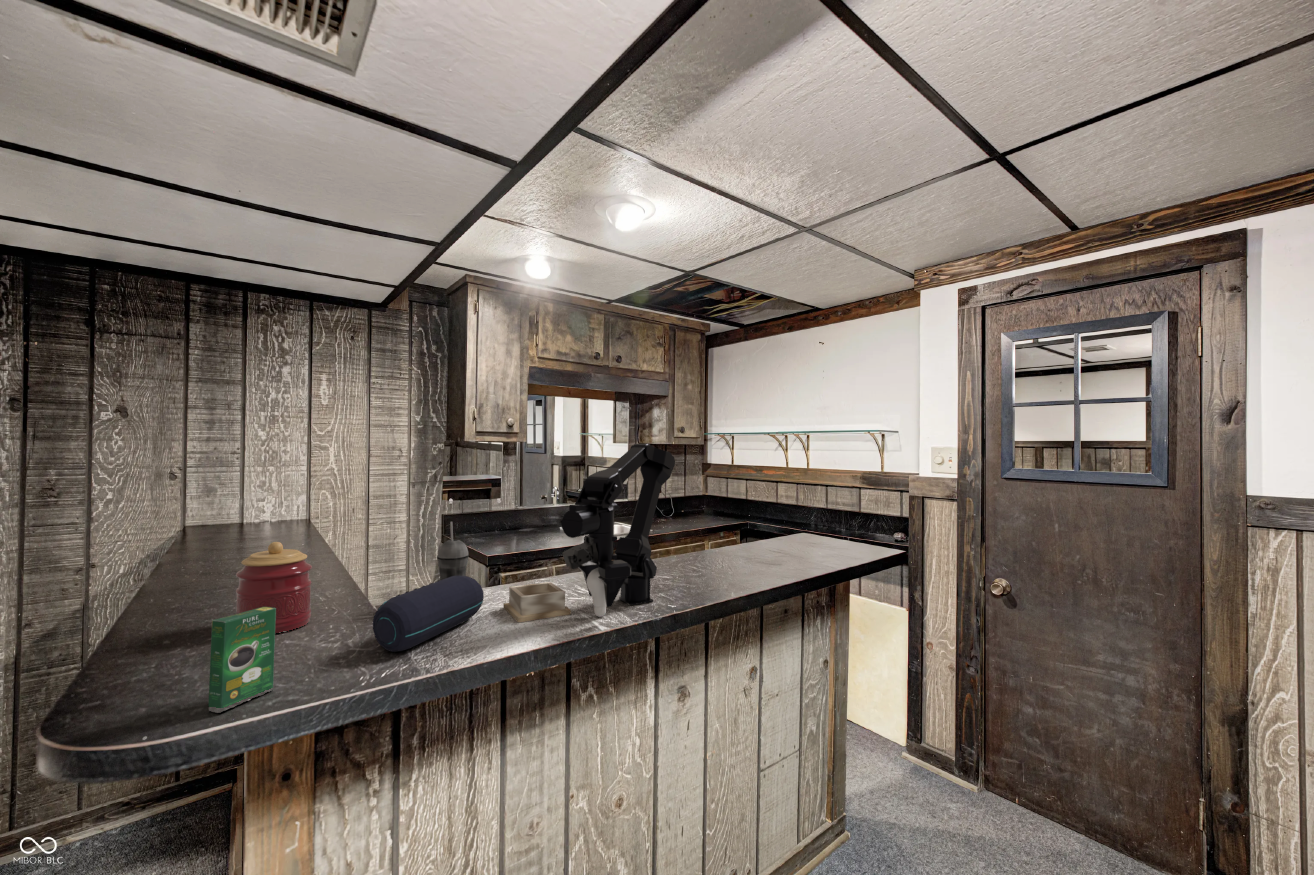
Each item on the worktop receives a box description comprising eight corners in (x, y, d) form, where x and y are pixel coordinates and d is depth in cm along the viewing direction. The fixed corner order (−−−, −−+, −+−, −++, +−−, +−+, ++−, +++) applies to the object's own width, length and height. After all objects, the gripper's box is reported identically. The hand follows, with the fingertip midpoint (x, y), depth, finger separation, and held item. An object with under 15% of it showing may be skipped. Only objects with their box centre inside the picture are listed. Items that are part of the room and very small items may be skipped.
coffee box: (262, 688, 86) (263, 604, 86) (275, 690, 85) (277, 606, 85) (206, 712, 78) (208, 620, 78) (221, 715, 77) (223, 622, 77)
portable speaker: (450, 613, 124) (451, 569, 124) (488, 618, 121) (489, 573, 121) (360, 654, 99) (361, 599, 100) (405, 661, 97) (406, 605, 97)
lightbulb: (619, 615, 123) (619, 566, 123) (602, 623, 118) (603, 572, 118) (597, 611, 126) (597, 563, 126) (580, 618, 121) (581, 568, 121)
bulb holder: (552, 600, 134) (552, 580, 134) (570, 614, 124) (570, 592, 124) (503, 607, 128) (503, 586, 128) (518, 622, 118) (518, 599, 118)
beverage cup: (473, 601, 133) (474, 519, 133) (460, 610, 126) (461, 523, 126) (445, 600, 134) (446, 518, 134) (430, 609, 126) (431, 522, 127)
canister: (324, 622, 117) (326, 539, 117) (259, 642, 105) (260, 550, 105) (287, 613, 122) (288, 534, 122) (220, 631, 110) (222, 544, 111)
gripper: (552, 528, 126) (551, 595, 126) (584, 541, 110) (583, 618, 110) (596, 524, 132) (595, 589, 132) (632, 536, 116) (632, 610, 116)
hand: (600, 601), depth 122 cm, fingers open, 9 cm apart
